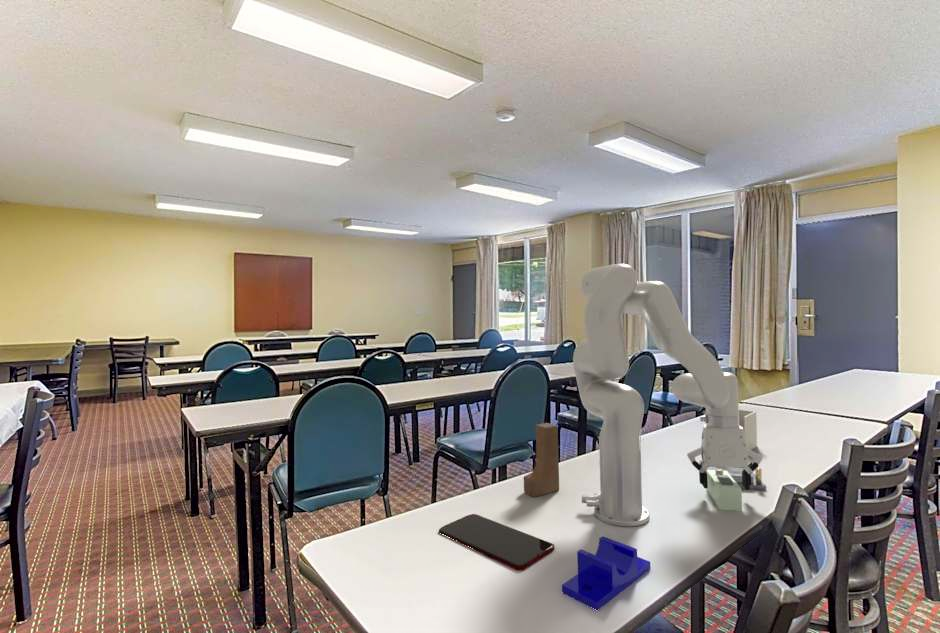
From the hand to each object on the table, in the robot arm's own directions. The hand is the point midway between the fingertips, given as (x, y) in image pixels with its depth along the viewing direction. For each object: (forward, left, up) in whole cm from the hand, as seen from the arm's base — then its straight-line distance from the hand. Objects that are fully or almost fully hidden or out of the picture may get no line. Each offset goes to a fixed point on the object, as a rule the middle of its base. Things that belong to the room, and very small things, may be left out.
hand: (725, 487), depth 123 cm
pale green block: (-1, 0, -3) cm, 3 cm away
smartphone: (-55, -31, -4) cm, 63 cm away
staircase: (+16, +48, -4) cm, 51 cm away
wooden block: (-47, -2, -3) cm, 47 cm away
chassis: (+6, +18, -3) cm, 19 cm away
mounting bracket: (-31, -43, -4) cm, 53 cm away
